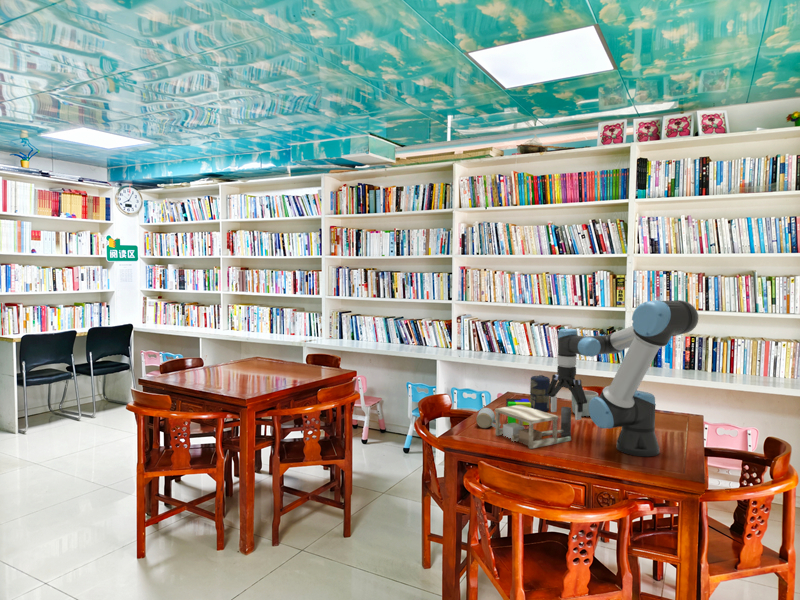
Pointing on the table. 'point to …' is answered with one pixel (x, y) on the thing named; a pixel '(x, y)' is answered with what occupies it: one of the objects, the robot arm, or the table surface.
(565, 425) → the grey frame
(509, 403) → the puzzle toy
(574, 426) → the table surface
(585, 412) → the planter
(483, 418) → the ceramic mug
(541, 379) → the canister
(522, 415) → the lane shelf
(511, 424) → the grey block
